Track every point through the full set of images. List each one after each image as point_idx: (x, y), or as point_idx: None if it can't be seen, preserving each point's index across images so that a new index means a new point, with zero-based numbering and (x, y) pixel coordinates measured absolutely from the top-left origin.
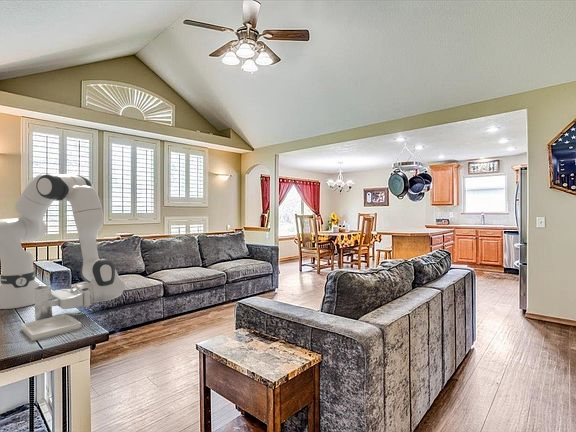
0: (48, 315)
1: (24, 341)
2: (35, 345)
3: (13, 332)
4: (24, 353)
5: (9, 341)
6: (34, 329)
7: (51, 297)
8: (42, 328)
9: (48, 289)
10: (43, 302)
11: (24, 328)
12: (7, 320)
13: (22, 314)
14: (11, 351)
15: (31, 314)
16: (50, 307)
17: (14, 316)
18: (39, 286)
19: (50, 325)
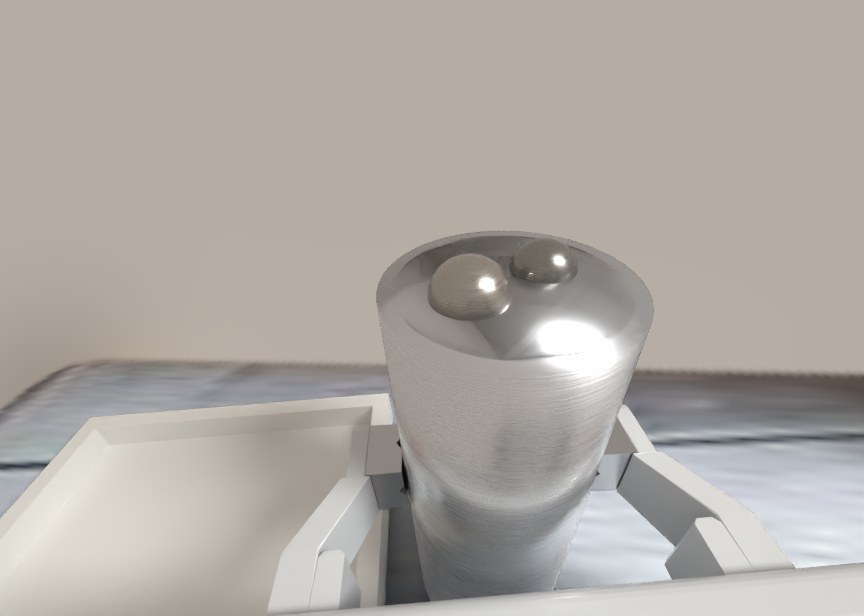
0: (423, 565)
1: None
2: (41, 448)
3: (390, 391)
4: (18, 405)
5: (259, 374)
6: (278, 461)
7: (487, 520)
8: (240, 504)
9: (397, 362)
10: (371, 426)
11: (294, 404)
12: (682, 380)
13: (838, 452)
14: (117, 375)
15: (823, 507)
16: (436, 558)
17: (782, 411)
18: (527, 242)
19: (246, 569)
